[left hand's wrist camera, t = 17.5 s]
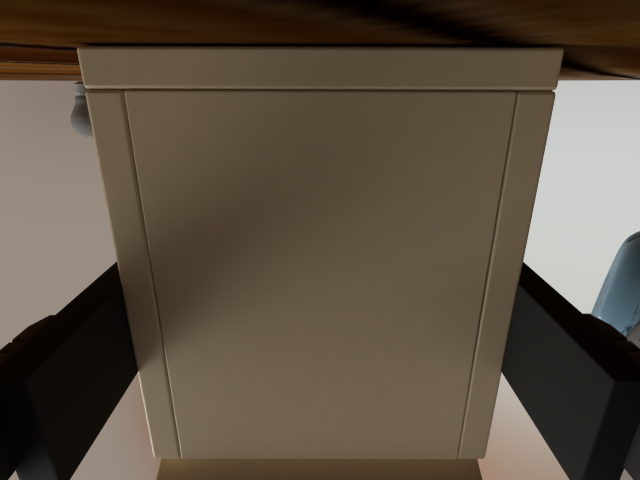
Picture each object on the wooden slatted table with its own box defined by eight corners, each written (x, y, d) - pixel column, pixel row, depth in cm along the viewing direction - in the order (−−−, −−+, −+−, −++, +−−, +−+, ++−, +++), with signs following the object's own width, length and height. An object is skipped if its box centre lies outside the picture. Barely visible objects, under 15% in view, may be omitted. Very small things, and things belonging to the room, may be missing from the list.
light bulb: (91, 81, 70) (102, 139, 74) (105, 81, 76) (114, 135, 80) (55, 81, 70) (68, 139, 73) (72, 81, 75) (83, 135, 79)
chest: (403, 77, 24) (391, 251, 28) (236, 76, 24) (247, 251, 28) (566, 46, 8) (485, 459, 12) (74, 45, 8) (152, 459, 12)
